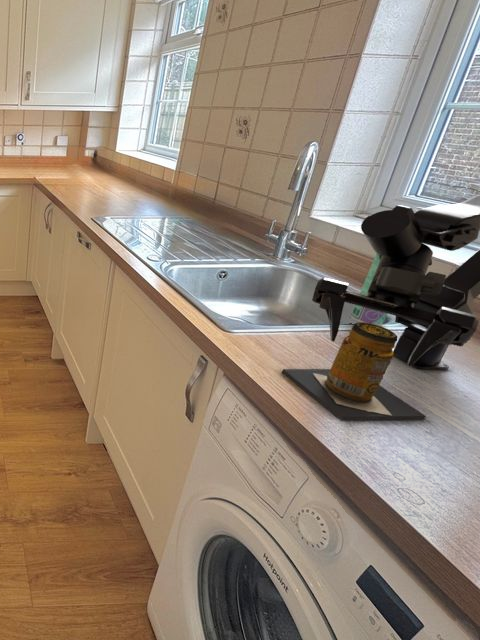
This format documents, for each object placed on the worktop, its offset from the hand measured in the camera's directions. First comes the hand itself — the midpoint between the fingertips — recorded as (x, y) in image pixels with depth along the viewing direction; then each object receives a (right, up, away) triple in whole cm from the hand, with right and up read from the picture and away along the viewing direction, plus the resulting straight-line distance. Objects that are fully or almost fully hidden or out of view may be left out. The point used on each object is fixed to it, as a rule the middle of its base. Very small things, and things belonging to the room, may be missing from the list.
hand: (369, 352), depth 66 cm
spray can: (+27, 0, +29) cm, 39 cm away
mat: (0, -8, +3) cm, 9 cm away
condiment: (-1, -8, +2) cm, 8 cm away
